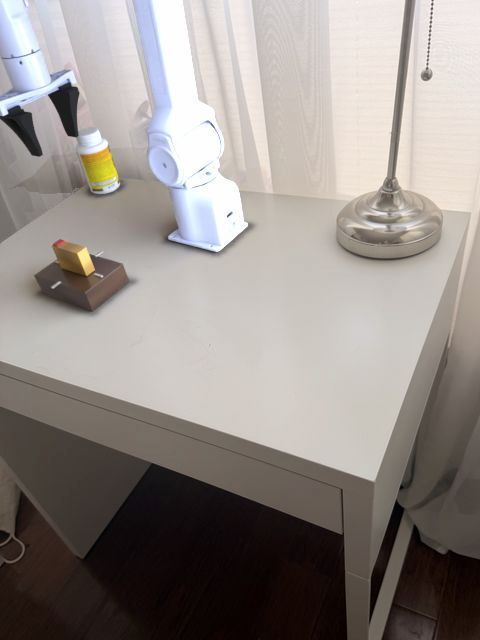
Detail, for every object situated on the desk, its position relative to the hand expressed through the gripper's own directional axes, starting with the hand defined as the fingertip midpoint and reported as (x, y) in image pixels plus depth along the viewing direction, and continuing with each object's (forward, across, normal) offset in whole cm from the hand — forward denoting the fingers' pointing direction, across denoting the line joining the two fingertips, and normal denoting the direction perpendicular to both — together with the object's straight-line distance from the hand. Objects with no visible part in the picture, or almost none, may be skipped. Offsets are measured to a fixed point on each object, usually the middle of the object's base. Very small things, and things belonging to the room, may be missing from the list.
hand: (55, 145), depth 88 cm
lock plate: (+10, +18, +21) cm, 29 cm away
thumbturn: (+7, +18, +21) cm, 28 cm away
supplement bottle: (+10, -6, +1) cm, 12 cm away
